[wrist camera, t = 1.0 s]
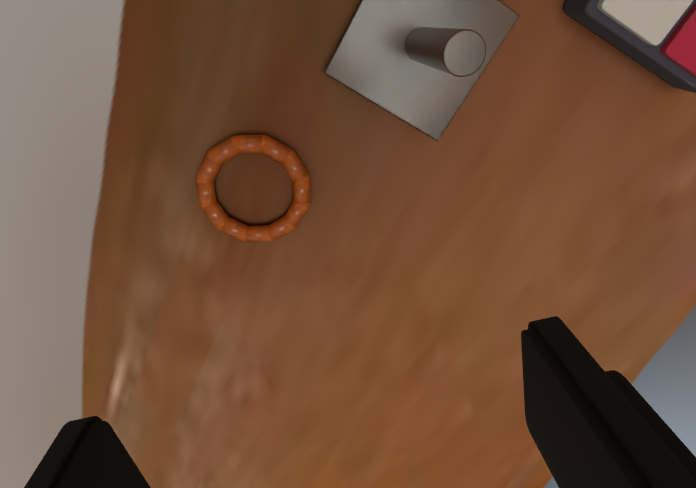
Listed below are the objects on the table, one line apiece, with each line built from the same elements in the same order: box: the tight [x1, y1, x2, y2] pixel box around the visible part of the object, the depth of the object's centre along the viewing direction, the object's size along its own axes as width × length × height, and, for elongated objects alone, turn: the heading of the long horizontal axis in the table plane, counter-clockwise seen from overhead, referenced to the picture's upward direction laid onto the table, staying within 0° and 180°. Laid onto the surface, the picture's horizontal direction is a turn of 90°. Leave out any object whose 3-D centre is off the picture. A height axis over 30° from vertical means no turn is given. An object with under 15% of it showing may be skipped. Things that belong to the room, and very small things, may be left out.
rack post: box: [324, 0, 519, 141], centre depth 25 cm, size 9×9×10 cm
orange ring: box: [196, 135, 311, 242], centre depth 32 cm, size 8×8×1 cm
